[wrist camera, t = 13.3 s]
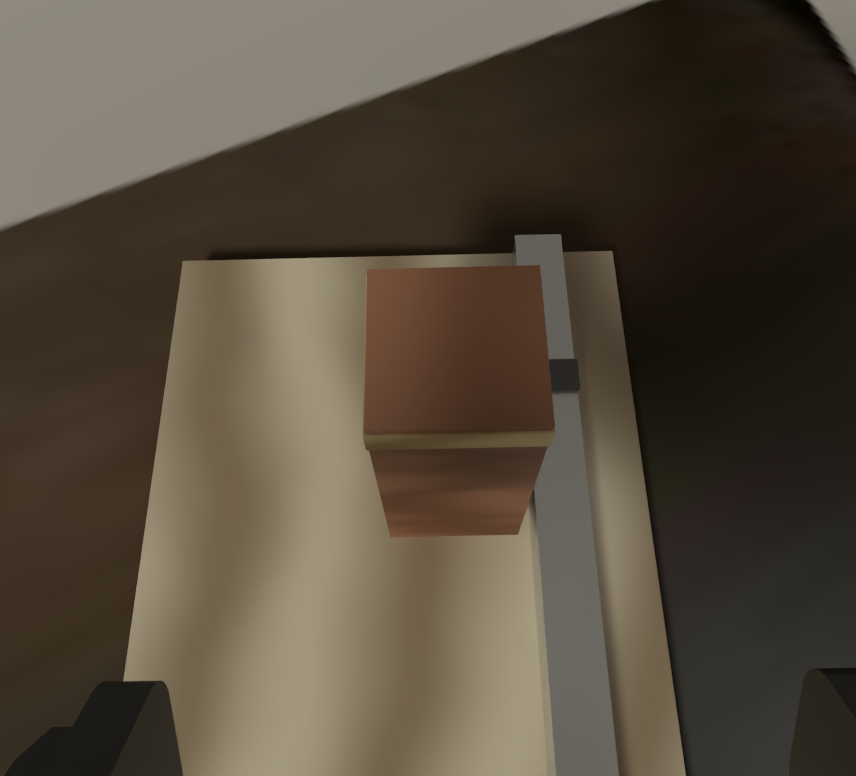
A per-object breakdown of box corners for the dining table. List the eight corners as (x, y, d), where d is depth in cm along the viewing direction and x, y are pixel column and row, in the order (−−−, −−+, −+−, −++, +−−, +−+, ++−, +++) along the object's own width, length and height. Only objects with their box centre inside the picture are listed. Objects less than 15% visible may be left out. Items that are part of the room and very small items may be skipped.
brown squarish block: (388, 538, 24) (361, 431, 16) (389, 418, 26) (364, 267, 18) (519, 536, 24) (557, 427, 16) (511, 415, 26) (541, 263, 18)
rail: (573, 1165, 18) (588, 1212, 16) (509, 264, 29) (514, 231, 27) (647, 1164, 18) (670, 1211, 16) (555, 263, 29) (563, 229, 27)
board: (76, 1169, 19) (49, 1199, 18) (194, 283, 30) (183, 261, 29) (723, 1161, 19) (744, 1192, 18) (604, 273, 30) (612, 250, 29)
